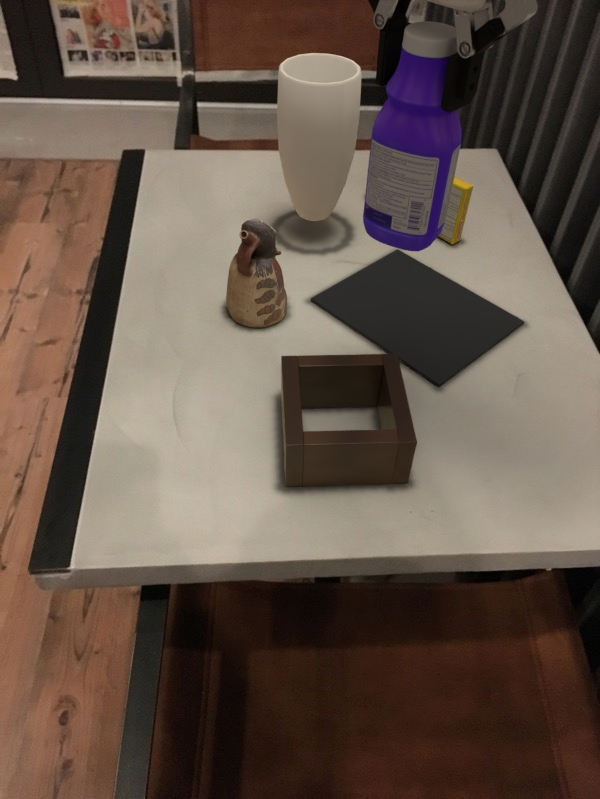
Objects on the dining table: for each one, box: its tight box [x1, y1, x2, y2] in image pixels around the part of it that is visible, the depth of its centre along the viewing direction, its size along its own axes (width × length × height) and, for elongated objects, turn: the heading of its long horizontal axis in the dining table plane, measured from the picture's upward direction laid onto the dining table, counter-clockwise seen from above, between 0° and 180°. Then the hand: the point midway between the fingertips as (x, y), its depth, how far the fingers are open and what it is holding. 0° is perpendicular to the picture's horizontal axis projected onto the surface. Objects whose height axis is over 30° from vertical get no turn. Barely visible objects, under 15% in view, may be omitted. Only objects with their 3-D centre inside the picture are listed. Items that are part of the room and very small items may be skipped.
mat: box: [310, 248, 525, 388], centre depth 82 cm, size 20×16×1 cm
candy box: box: [437, 176, 474, 245], centre depth 94 cm, size 16×2×8 cm, turn 41°
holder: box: [280, 353, 418, 487], centre depth 66 cm, size 12×12×6 cm
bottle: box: [362, 20, 463, 252], centre depth 56 cm, size 7×6×17 cm
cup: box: [276, 52, 363, 222], centre depth 86 cm, size 10×10×22 cm
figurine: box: [225, 218, 288, 328], centre depth 78 cm, size 7×7×12 cm
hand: (423, 91), depth 53 cm, fingers closed on bottle, 5 cm apart
